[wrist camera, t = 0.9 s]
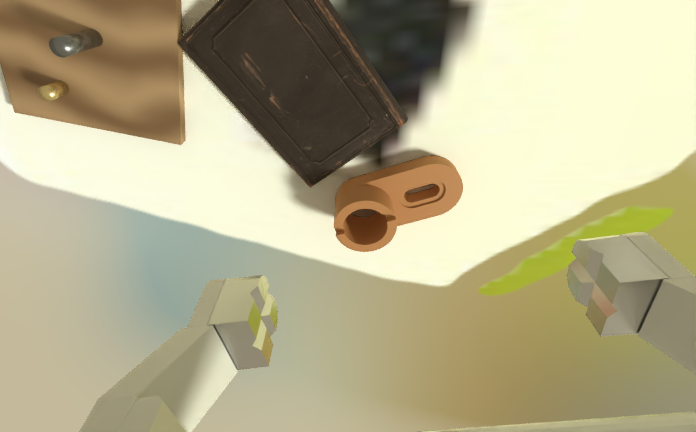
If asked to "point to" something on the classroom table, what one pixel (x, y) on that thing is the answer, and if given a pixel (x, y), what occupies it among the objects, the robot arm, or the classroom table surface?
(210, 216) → the classroom table surface
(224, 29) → the hardcover book
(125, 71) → the board
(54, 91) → the dowel
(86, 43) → the post
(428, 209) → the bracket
